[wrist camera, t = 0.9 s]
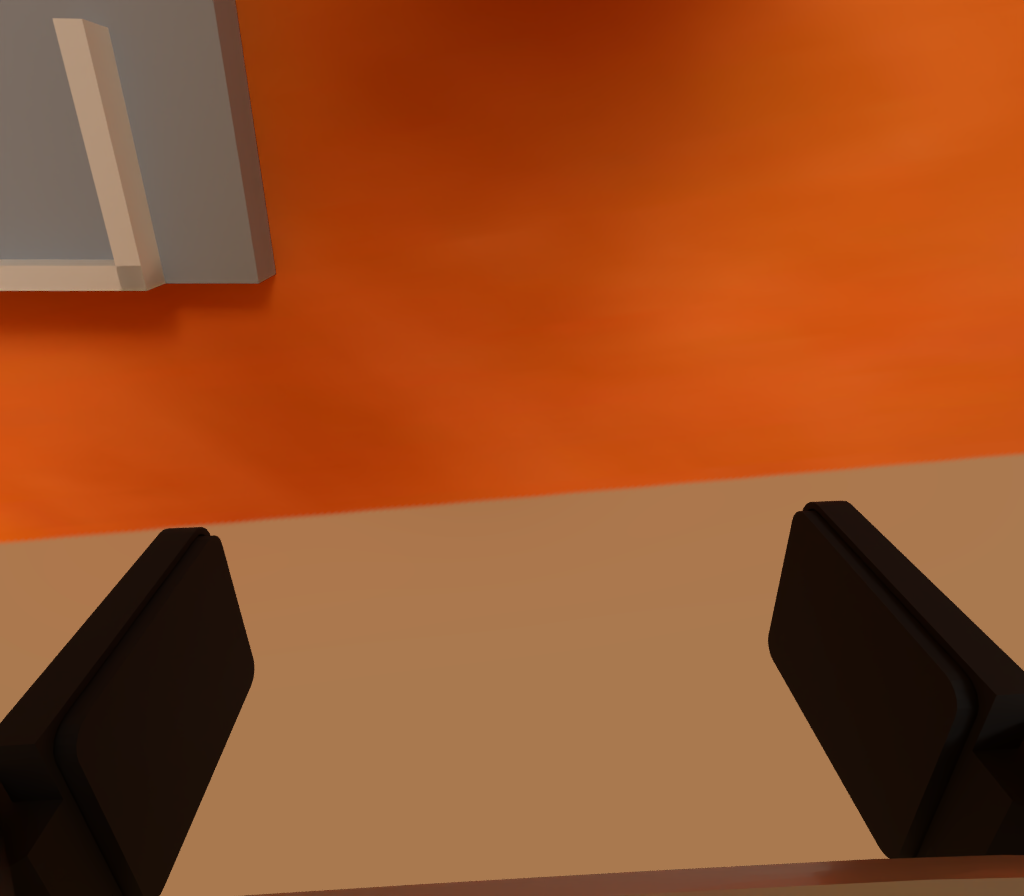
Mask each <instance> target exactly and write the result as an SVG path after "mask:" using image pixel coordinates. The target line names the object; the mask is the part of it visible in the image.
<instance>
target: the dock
mask: <svg viewBox="0 0 1024 896" xmlns="http://www.w3.org/2000/svg"><path fill="white" fill-rule="evenodd" d="M275 274H276V270H275V264H274V257H273V250H272V244H271V237H270V230H269V224H268V217H267V210H266V203H265V197H264V190H263V183H262V177H261V170H260V163H259V157H258V150H257V143H256V137H255V130H254V123H253V117H252V110H251V103H250V96H249V90H248V83H247V76H246V70H245V63H244V56H243V50H242V43H241V36H240V30H239V23H238V16H237V10H236V3H235V0H0V291H148V290H150V289H153V288H155V287H158V286H160V285H163V284H165V283H261V282H262V281H264V280H266V279H268V278H269V277H271V276H273V275H275Z"/></svg>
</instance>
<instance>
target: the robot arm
mask: <svg viewBox="0 0 1024 896" xmlns="http://www.w3.org/2000/svg"><path fill="white" fill-rule="evenodd" d="M768 644H769V650H770V654H771V657H772V659H773V661H774V663H775V664H776V666H777V668H778V670H779V672H780V673H781V675H782V677H783V678H784V680H785V682H786V684H787V686H788V687H789V689H790V691H791V693H792V694H793V696H794V698H795V700H796V702H797V703H798V705H799V707H800V709H801V710H802V712H803V713H804V716H805V717H806V719H807V721H808V723H809V724H810V726H811V728H812V730H813V731H814V733H815V735H816V737H817V739H818V740H819V742H820V744H821V746H822V747H823V749H824V751H825V753H826V754H827V756H828V758H829V760H830V761H831V763H832V765H833V767H834V769H835V770H836V772H837V774H838V776H839V777H840V779H841V781H842V783H843V784H844V786H845V788H846V790H847V791H848V793H849V795H850V797H851V798H852V800H853V802H854V804H855V806H856V807H857V809H858V811H859V812H860V814H861V816H862V818H863V820H864V821H865V823H866V825H867V827H868V828H869V830H870V832H871V834H872V836H873V837H874V839H875V840H876V843H877V844H878V846H879V848H880V849H881V850H882V852H883V853H884V854H885V855H886V856H887V857H888V858H890V859H871V860H851V861H832V862H831V861H830V862H811V863H792V864H776V865H775V864H773V865H754V866H735V867H716V868H698V869H697V868H696V869H678V870H659V871H642V872H624V873H608V874H590V875H573V876H555V877H538V878H520V879H504V880H487V881H469V882H452V883H435V884H419V885H403V886H387V887H373V888H356V889H340V890H324V891H309V892H293V893H279V894H278V893H277V894H262V895H246V896H1024V671H1023V670H1022V669H1021V668H1020V667H1019V666H1018V665H1017V664H1016V663H1015V662H1014V661H1013V660H1012V659H1011V658H1010V657H1009V656H1008V655H1007V654H1006V653H1004V652H1003V651H1002V650H1001V649H1000V648H999V647H998V646H997V645H996V644H995V643H994V642H993V641H992V640H991V639H990V638H989V637H988V636H987V635H986V634H985V633H984V632H983V631H982V630H981V629H980V628H979V627H977V625H976V624H974V623H973V622H972V621H971V620H970V619H969V618H968V617H967V616H966V615H965V614H964V613H963V612H962V611H961V610H960V609H959V608H958V607H957V606H956V605H955V604H954V603H953V602H952V601H951V600H950V599H949V598H948V597H947V596H945V595H944V594H943V593H942V592H941V591H940V590H939V589H938V588H937V587H936V586H935V585H934V584H933V583H932V582H931V581H930V580H929V579H928V578H927V577H926V576H925V575H924V574H923V573H921V571H920V570H918V569H917V567H915V566H914V565H913V564H912V563H911V562H910V561H909V560H908V559H907V558H906V557H905V556H904V555H903V554H902V553H901V552H900V551H899V550H898V549H897V548H896V547H895V546H894V545H893V544H892V543H891V542H890V541H889V540H888V539H886V538H885V537H884V536H883V535H882V534H881V533H880V532H879V531H878V530H877V529H876V528H875V527H874V526H873V525H872V524H871V523H870V522H869V521H868V520H867V519H866V518H865V517H864V516H863V515H862V514H861V513H860V512H858V510H856V509H855V508H854V507H853V506H852V505H851V504H850V503H848V502H847V501H825V502H809V503H808V504H806V505H805V507H804V508H803V511H799V512H796V514H795V515H794V517H793V520H792V525H791V530H790V535H789V539H788V544H787V549H786V554H785V559H784V563H783V568H782V573H781V578H780V583H779V587H778V592H777V597H776V602H775V607H774V611H773V617H772V621H771V626H770V631H769V637H768ZM253 677H254V660H253V656H252V652H251V649H250V645H249V641H248V638H247V634H246V630H245V627H244V623H243V619H242V616H241V612H240V609H239V605H238V601H237V598H236V594H235V590H234V586H233V583H232V580H231V575H230V572H229V568H228V564H227V561H226V557H225V554H224V550H223V546H222V543H221V540H220V539H219V538H218V537H217V536H210V533H209V532H208V531H207V529H205V528H203V527H194V528H169V529H164V530H163V531H162V532H161V533H160V534H159V535H158V536H157V537H156V538H155V540H154V541H153V542H152V543H151V544H150V546H149V547H148V548H147V549H146V550H145V552H144V553H143V554H142V555H141V556H140V557H139V559H138V560H137V561H136V562H135V563H134V565H133V566H132V567H131V568H130V569H129V570H128V572H127V573H126V574H125V575H124V576H123V578H122V579H121V580H120V581H119V582H118V584H117V585H116V586H115V587H114V588H113V590H112V591H111V592H110V593H109V594H108V596H107V597H106V598H105V599H104V600H103V601H102V603H101V604H100V605H99V606H98V607H97V609H96V610H95V611H94V612H93V613H92V615H91V616H90V617H89V618H88V619H87V621H86V622H85V623H84V624H83V625H82V626H81V628H80V629H79V630H78V631H77V632H76V634H75V635H74V636H73V637H72V639H71V640H70V641H69V642H68V643H67V644H66V646H65V647H64V648H63V649H62V650H61V651H60V653H59V654H58V655H57V656H56V657H55V659H54V660H53V661H52V662H51V663H50V665H49V666H48V667H47V668H46V670H45V671H44V672H43V673H42V674H41V675H40V676H39V678H38V679H37V680H36V681H35V683H34V684H33V685H32V686H31V687H30V688H29V690H28V691H27V692H26V693H25V694H24V696H23V697H22V698H21V699H20V700H19V701H18V703H17V704H16V705H15V706H14V707H13V709H12V710H11V711H10V712H9V713H8V715H7V716H6V717H5V718H4V719H3V721H2V722H1V723H0V896H159V895H160V894H161V892H162V890H163V888H164V886H165V883H166V881H167V879H168V877H169V874H170V872H171V870H172V867H173V865H174V863H175V861H176V858H177V856H178V854H179V851H180V849H181V847H182V844H183V842H184V840H185V837H186V835H187V833H188V830H189V828H190V826H191V824H192V821H193V819H194V817H195V814H196V812H197V810H198V807H199V805H200V802H201V800H202V798H203V796H204V793H205V791H206V789H207V786H208V784H209V782H210V779H211V777H212V775H213V772H214V770H215V768H216V766H217V763H218V761H219V759H220V756H221V754H222V752H223V749H224V747H225V745H226V742H227V740H228V738H229V735H230V733H231V731H232V728H233V726H234V724H235V722H236V719H237V717H238V715H239V712H240V710H241V708H242V705H243V703H244V701H245V698H246V696H247V694H248V691H249V689H250V687H251V684H252V681H253Z"/></svg>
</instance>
